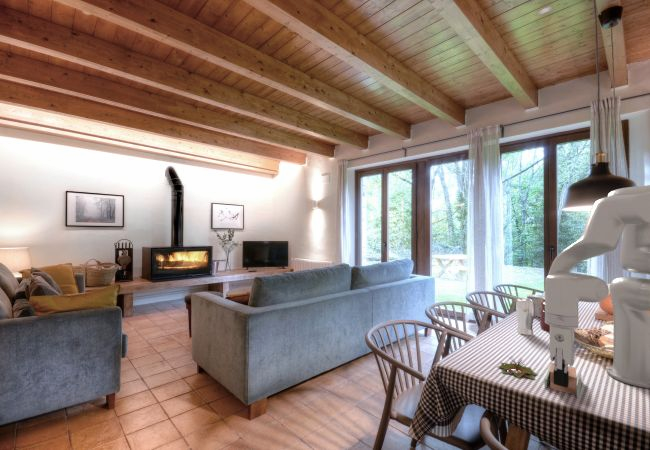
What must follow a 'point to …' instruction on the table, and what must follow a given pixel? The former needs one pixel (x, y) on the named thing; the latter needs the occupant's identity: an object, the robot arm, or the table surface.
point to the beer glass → (525, 315)
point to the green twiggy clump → (518, 367)
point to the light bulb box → (536, 303)
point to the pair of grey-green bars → (549, 379)
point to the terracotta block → (572, 381)
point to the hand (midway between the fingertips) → (561, 384)
